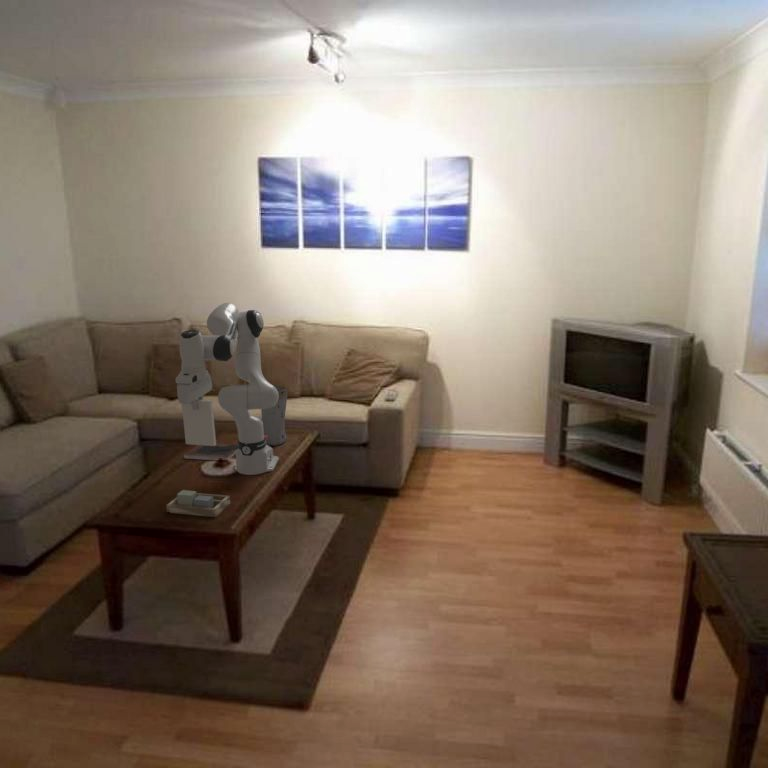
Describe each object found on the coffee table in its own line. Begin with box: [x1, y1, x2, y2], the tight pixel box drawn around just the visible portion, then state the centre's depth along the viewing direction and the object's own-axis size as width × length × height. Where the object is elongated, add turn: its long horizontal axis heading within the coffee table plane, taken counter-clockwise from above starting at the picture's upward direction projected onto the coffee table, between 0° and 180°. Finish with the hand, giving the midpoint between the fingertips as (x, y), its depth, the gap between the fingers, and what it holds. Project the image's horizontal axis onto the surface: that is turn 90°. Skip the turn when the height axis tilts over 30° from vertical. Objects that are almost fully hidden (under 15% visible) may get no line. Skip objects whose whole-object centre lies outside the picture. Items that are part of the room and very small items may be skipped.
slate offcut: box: [194, 495, 214, 508], centre depth 256 cm, size 4×6×6 cm, turn 77°
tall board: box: [181, 398, 217, 446], centre depth 256 cm, size 2×12×18 cm, turn 77°
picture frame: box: [183, 443, 239, 461], centre depth 316 cm, size 16×2×22 cm
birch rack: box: [165, 492, 231, 518], centre depth 259 cm, size 13×20×3 cm, turn 77°
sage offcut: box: [176, 489, 197, 507], centre depth 258 cm, size 4×6×7 cm, turn 77°
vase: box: [260, 384, 288, 447], centre depth 327 cm, size 13×14×28 cm
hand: (197, 408), depth 255 cm, fingers closed on tall board, 2 cm apart
